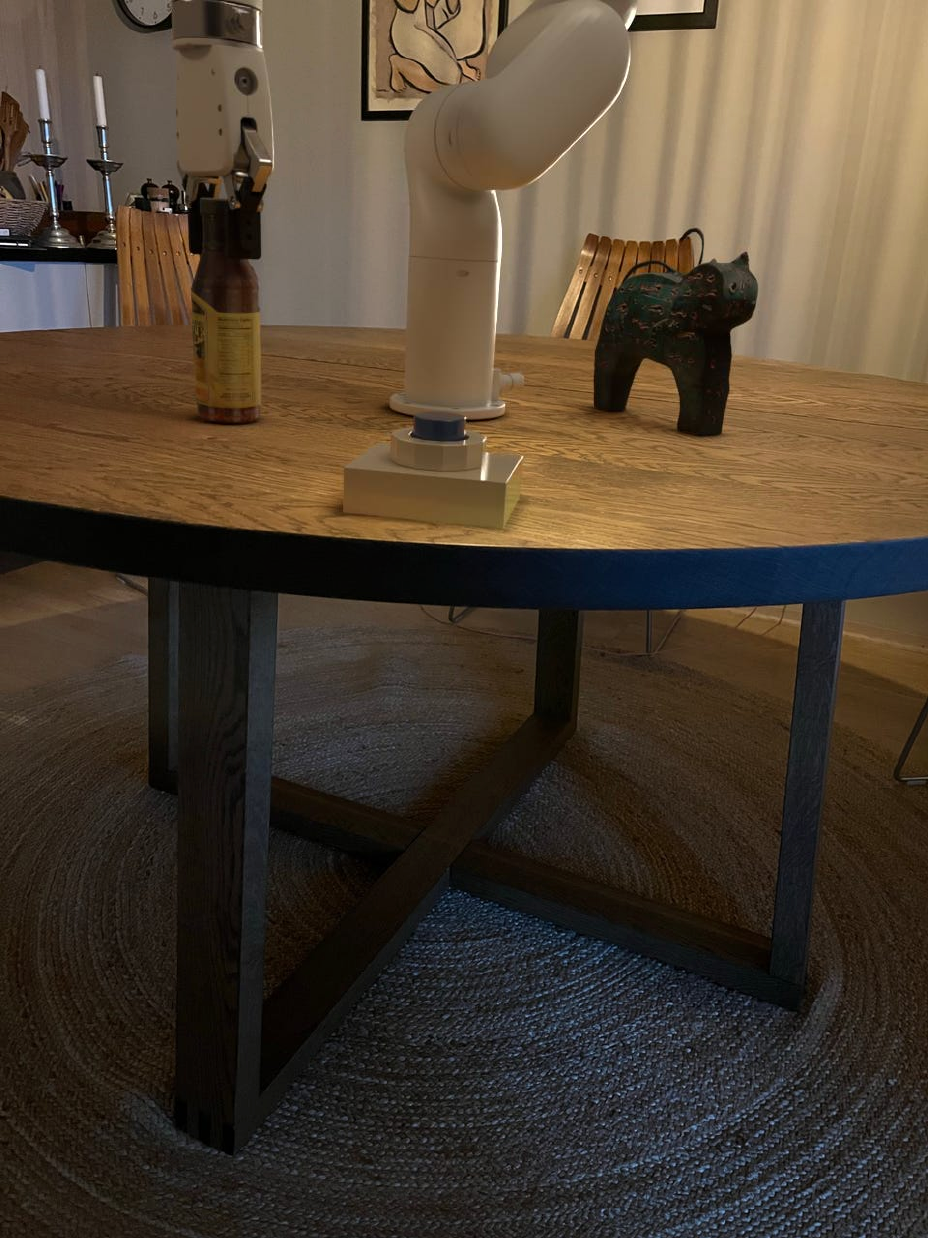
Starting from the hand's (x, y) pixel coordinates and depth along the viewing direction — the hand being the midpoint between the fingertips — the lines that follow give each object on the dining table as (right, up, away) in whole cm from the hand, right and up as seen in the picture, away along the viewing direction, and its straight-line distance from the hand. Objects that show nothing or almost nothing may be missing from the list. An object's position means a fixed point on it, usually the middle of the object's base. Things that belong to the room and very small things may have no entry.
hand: (224, 254), depth 91 cm
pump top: (+20, -21, -22) cm, 37 cm away
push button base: (+20, -25, -20) cm, 38 cm away
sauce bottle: (-1, -14, +5) cm, 15 cm away
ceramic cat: (+43, -12, +19) cm, 48 cm away
